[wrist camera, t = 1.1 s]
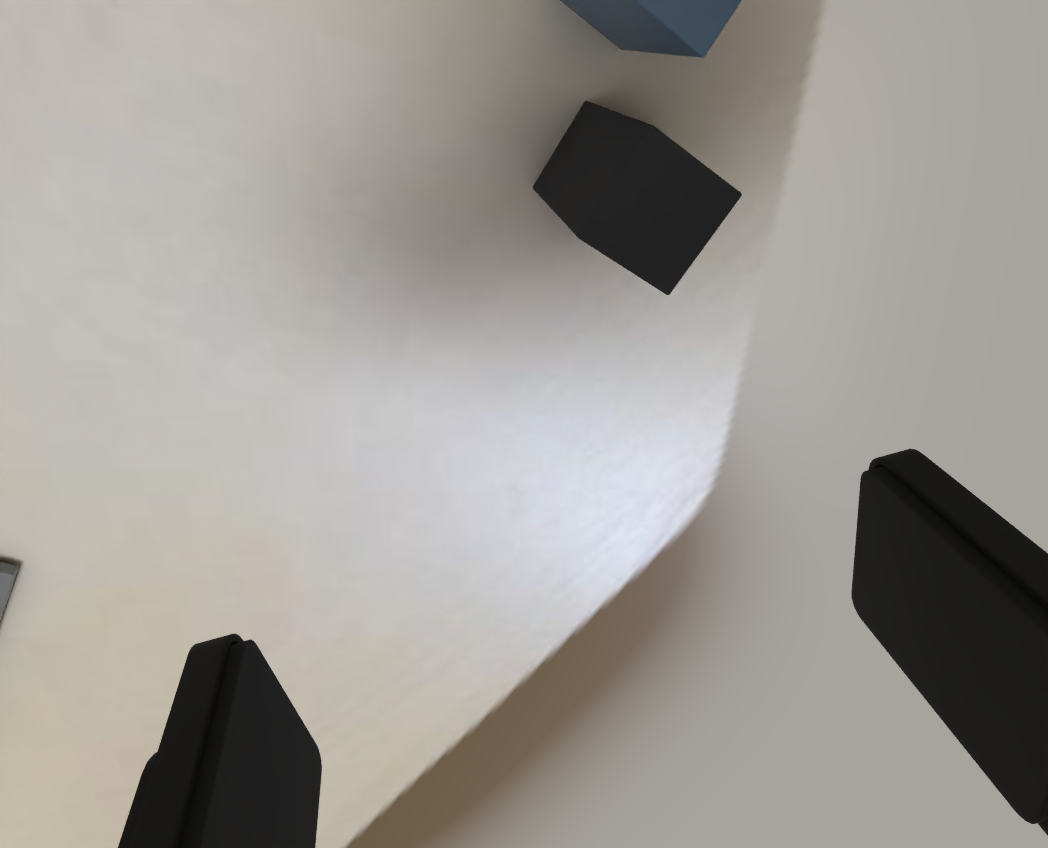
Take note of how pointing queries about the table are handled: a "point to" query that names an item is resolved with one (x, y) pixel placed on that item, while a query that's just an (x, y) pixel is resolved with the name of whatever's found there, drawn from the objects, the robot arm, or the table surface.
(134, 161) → the table surface
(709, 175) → the black rectangular block
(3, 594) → the gear board
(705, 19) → the blue rectangular block
